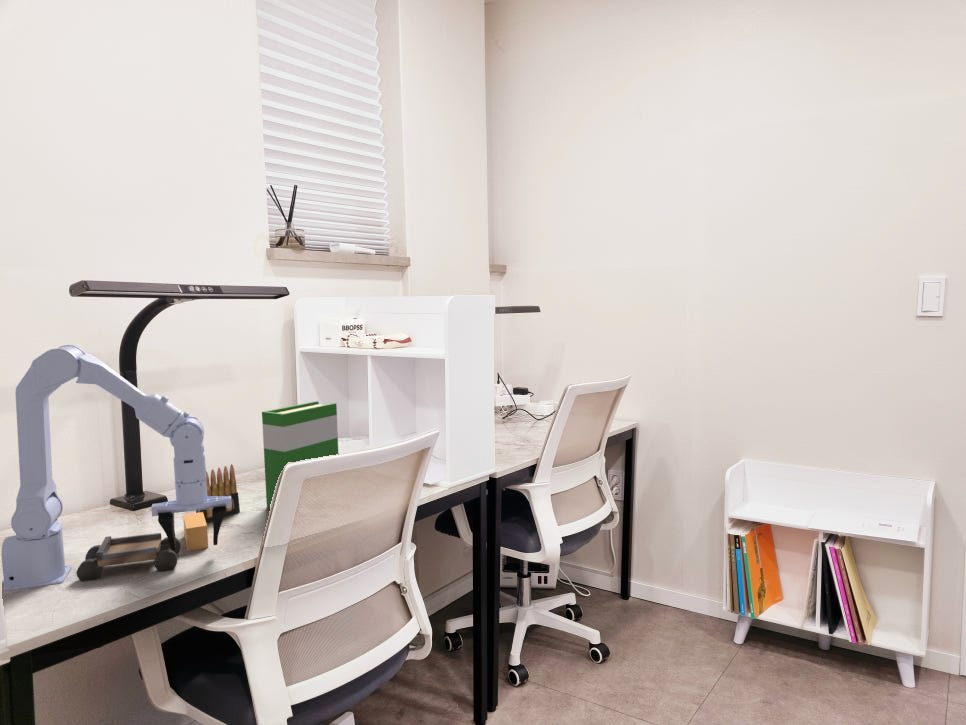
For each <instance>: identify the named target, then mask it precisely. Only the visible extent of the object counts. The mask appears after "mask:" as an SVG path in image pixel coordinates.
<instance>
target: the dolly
mask: <svg viewBox="0 0 966 725" xmlns="http://www.w3.org/2000/svg"><path fill="white" fill-rule="evenodd" d="M181 546H182V544H181V541H180V539H179V538H177V537H176V550H173V551H172V549H171V545H170V542H169V539H168V537H167V536H166V537H164V538H163V539H162V532H155V533H148V534H140V535H139V534H138V535H130V536H122V537H112V535H111V536H109V535H108V536H105V537H104V539H103V540H102V542H101V544H97V545H94V546H91V547H90V548H89V549H88V550H87V552H86V553H85V558H84V559H85V560H84V561H82V562H81V563H80V564H79V566H78V568H77V570H76V575H77V576H76V577H77V579H78V580H79V581H81V582H90V581H91V582H92V581H97V580H98V579H99V578H100V577H101V575H102V573H103V567H107V566H109V567H110V566H115V565H125V564H131V563H133V564H134V563H141V562H147V561H153V560H154V562H153V565H154V568H155V569H156V570H157V571H158V572H161V573H162V572H169V571H173V570H174V569H175V568H176V566H177V564H178V560H179V558H178V555H179V553H180V551H181V548H182V547H181Z"/></svg>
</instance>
